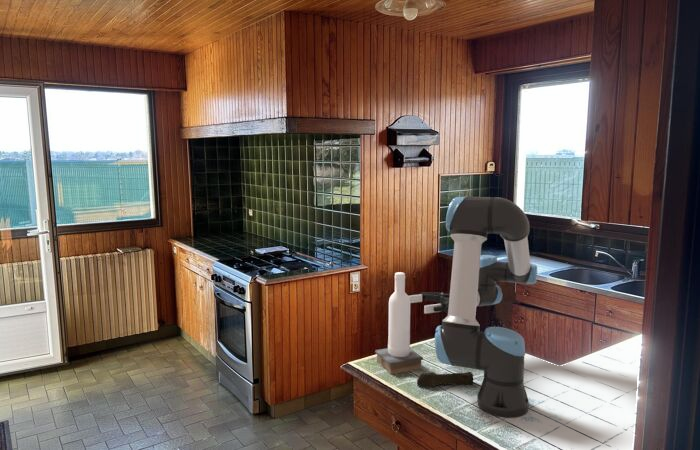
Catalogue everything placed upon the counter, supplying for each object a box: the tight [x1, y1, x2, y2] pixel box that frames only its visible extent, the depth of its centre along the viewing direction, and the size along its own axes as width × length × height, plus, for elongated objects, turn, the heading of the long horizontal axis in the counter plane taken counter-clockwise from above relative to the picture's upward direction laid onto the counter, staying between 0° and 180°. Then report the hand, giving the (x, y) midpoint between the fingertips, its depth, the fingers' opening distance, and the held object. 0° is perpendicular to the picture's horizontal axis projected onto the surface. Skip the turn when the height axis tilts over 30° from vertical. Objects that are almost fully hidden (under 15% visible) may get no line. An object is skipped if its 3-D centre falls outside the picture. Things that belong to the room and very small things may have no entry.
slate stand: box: [374, 347, 424, 375], centre depth 185 cm, size 13×13×4 cm
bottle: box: [387, 271, 411, 357], centre depth 183 cm, size 8×8×30 cm
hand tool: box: [416, 371, 474, 388], centre depth 170 cm, size 19×4×5 cm, turn 95°
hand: (415, 304), depth 185 cm, fingers open, 13 cm apart
